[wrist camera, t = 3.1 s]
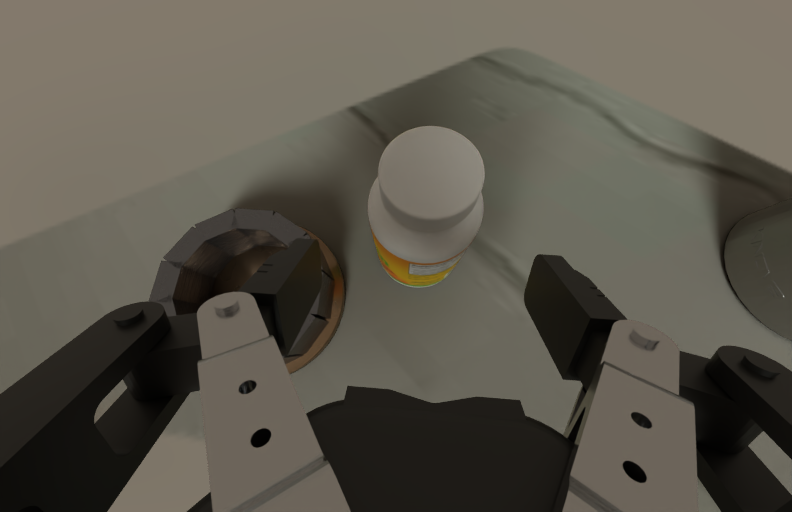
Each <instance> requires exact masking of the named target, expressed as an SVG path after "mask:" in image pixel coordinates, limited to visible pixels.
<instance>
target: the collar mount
mask: <svg viewBox="0 0 792 512" xmlns="http://www.w3.org/2000/svg"><path fill="white" fill-rule="evenodd" d="M195 226H196V228H194V227H191V228H190V229H189V231H188V232H187V233H186V234H185V235H184V236H183V237H182V238H181V239H180V240H179V241H178V242H177V243H176V244H175V246H174V247H173V248H172V249H171V250H170V251H169V252H168V253H167V254H166V255H165V256H164V257H163V258H164V259H165V260H167V261H161V263H160V267H159V270H158V273H157V276H156V279H155V283H154V286H153V289H152V292H151V295H150V298H149V301H150V302H157V303H160V304H161V305H163V307H164V309H165V312H166V314H167V316H168V317H169V316H176V315H184V314H192V313H197V311H198V309H199V308H200V306H201V305H202V304H204V303H205V302H206V301H208V300H209V299H211V298H213V297H215V296H218V295H221V294H224V293H229V292H237V291H238V290H239V289H240V288H241V287H242V286H243V285H244V284H245V283H246V281H247V280H248V279H249V278H250V277H251V276H252V275H253V274H254V273H255V272H257V270H258V268H259V267H260V266H263V263H264V262H265V261H266V260H267V259H268V258H269V257H270V256H271V255H273V254H275V253H277V252H279V251H281V250H286V249H287V248H288V247H289V246H290V245H291V244H292V242H293V241H294V240H295V239H296V238H302V239H317V240H318V242H319V247H320V258H321V269H322V285H321V289H320V292H319V294H318V296H317V298H316V300H315V302H314V304H313V306H312V308H311V310H310V312H309V314H308V316H307V318H306V320H305V322H304V324H303V326H302V328H301V330H300V332H299V334H298V336H297V338H296V340H295V342H294V344H293V346H292V348H291V350H290V352H289V354H288V356H282V358H283V360H284V362H285V365H286V367H287V370H288V372H289V374H291V373H294V372H296V371H298V370H299V369H301V368H303V367H305V366H306V365H307V364H309V363H310V362H311V361H313V360H314V359H315V358H316V357H317V356H318V355H319V354H320V353H321V352H322V351H323V350H324V349H325V348H326V346H327V345H328V344H329V343H330V341H331V339H332V338H333V336H334V335H335V333H336V331H337V328H338V326H339V324H340V321H341V318H342V315H343V311H344V305H345V283H344V278H343V274H342V271H341V268H340V266H339V264H338V262H337V260H336V258H335V256H334V255H333V254H332V252H331V251H330V250H329V248H328V247H327V246H326V245H325V244H324V243H323V241H322V240H321V239H319V238H318V237H317V236H316V235H314V234H313V233H311V232H310V231H308V230H306V229H304V228H302V227H300V226H297V225H295V224H294V223H292V222H291V221H290V220H288V219H287V218H285V217H284V216H282V215H281V214H279V213H278V212H276V213H275V212H274V211H271V210H255V209H239V208H236V209H235V210H233V209H231V210H229V211H226V212H224V213H222V214H219V215H217V216H214V217H212V218H210V219H207V220H205V221H202V222H200V223H198V224H195Z"/></svg>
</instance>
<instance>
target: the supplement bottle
mask: <svg viewBox="0 0 792 512" xmlns="http://www.w3.org/2000/svg"><path fill="white" fill-rule="evenodd" d="M484 179H485V170H484V164H483V160H482V157H481V155H480V153H479V151H478V150H477V148H476V147H475V146H474V145H473V144H472V142H471V141H469V140H468V139H467V138H466V137H464V136H463V135H461V134H460V133H458V132H456V131H454V130H451V129H448V128H444V127H439V126H422V127H417V128H413V129H410V130H407V131H405V132H403V133H402V134H400V135H399V136H397V137H396V138H395V139H393V140H392V141H391V142H390V143H389V145H388V146H387V147H386V149H385V150H384V152H383V154H382V156H381V159H380V162H379V167H378V177H377V178H376V180H375V181H374V183H373V185H372V188H371V190H370V194H369V198H368V217H369V223H370V226H371V230H372V234H373V238H374V242H375V245H376V249H377V252H378V256H379V259H380V262H381V264H382V266H383V268H384V270H385V271H386V272H387V274H388V275H389V276H390V277H391V278H393V279H394V280H395V281H397V282H399V283H401V284H403V285H406V286H410V287H428V286H432V285H434V284H437V283H439V282H440V281H442V280H443V279H444V278H446V277H447V276H448V275H449V274H450V273H451V271H452V270H453V269H454V267H455V266H456V264H457V263H458V261H459V260H460V259H461V257H462V256H463V254H464V253H465V251H466V250H467V248H468V247H469V245H470V244H471V242H472V241H473V239H474V238H475V236H476V234H477V232H478V230H479V228H480V225H481V222H482V218H483V210H484V206H483V197H482V193H481V190H482V188H483V184H484Z"/></svg>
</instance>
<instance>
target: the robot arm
mask: <svg viewBox="0 0 792 512" xmlns="http://www.w3.org/2000/svg"><path fill="white" fill-rule="evenodd" d="M724 259H725V266H726V271H727V274H728V277H729V279H730V282H731V285H732V287H733V288H734V290H735V292H736V293H737V295H738V297H739V299H740V300H741V301H742V302H743V304H744V305H745V306H746V307H747V308H748V310H749V311H750V312H751V313H752V314H753V315H754V316H755V317H756V318H757V319H759V320H760V321H761V322H762V323H763V324H764V325H765V326H767V327H768V328H770V329H771V330H773V331H774V332H776V333H777V334H779V335H781V336H782V337H784V338H787V339H789V340H791V341H792V198H791V199H789V200H786V201H783V202H781V203H778V204H775V205H773V206H770V207H768V208H765V209H762V210H760V211H757V212H754V213H752V214H749V215H747V216H746V217H744V218H743V219H741V220H740V221H738V222H737V223H736V225H735V226H734V227H733V228H732V230H731V231H730V233H729V235H728V238H727V240H726V243H725V252H724ZM321 285H322V269H321V258H320V247H319V242H318V240H317V239H302V238H296V239H295V240H294V241H293V242H292V244H291V245H290V246H289V247H288V248H287V249H286V250H281V251H279V252H277V253H275V254H273V255H271V256H270V257H269V258H268V259H267V260H266V261H265V262H264V263H263V266H260V267H259V268H258V270H257V272H255V273H254V274H253V275H252V276H251V277H250V278H249V279H248V280H247V281H246V283H245V284H244V285H243V286H242V287H241V288H240V289H239V290H238V291H237V292H229V293H224V294H221V295H218V296H215V297H213V298H211V299H209V300H208V301H206V302H205V303H204V304H202V305H201V306H200V308H199V309H198V311H197V313H192V314H184V315H176V316H169V317H168V316H167V314H166V312H165V309H164V307H163V305H161V304H160V303H157V302H139V303H134V304H130V305H127V306H124V307H121V308H118V309H116V310H114V311H112V312H110V313H108V314H107V315H105V316H104V317H102V318H101V319H100V320H98V321H97V322H96V323H94V324H93V325H92V326H90V327H89V328H88V329H86V330H85V331H84V332H82V333H81V334H80V335H78V336H77V337H76V338H74V339H73V340H72V341H70V342H69V343H68V344H66V345H65V346H64V347H62V348H61V349H60V350H58V351H57V352H56V353H54V354H53V355H52V356H50V357H49V358H48V359H46V360H45V361H44V362H43V363H41V364H40V365H39V366H37V367H36V368H35V369H33V370H32V371H31V372H29V373H28V374H27V375H25V376H24V377H23V378H21V379H20V380H19V381H17V382H16V383H15V384H13V385H12V386H11V387H9V388H8V389H7V390H5V391H4V392H3V393H1V394H0V512H107V511H108V510H109V508H110V507H111V505H112V504H113V503H114V501H115V500H116V498H117V497H118V495H119V494H120V492H121V491H122V489H123V488H124V487H125V485H126V484H127V482H128V481H129V480H130V478H131V477H132V475H133V474H134V472H135V471H136V469H137V468H138V466H139V465H140V464H141V462H142V461H143V459H144V458H145V457H146V455H147V454H148V452H149V451H150V449H151V448H152V446H153V445H154V444H155V442H156V441H157V439H158V438H159V436H160V435H161V434H162V432H163V431H164V429H165V428H166V426H167V425H168V424H169V422H170V421H171V419H172V418H173V416H174V415H175V413H176V412H177V411H178V409H179V408H180V406H181V405H182V403H183V402H184V401H185V399H186V398H187V396H188V395H189V393H190V392H194V391H199V390H200V393H201V403H202V413H203V422H204V432H205V442H206V451H207V460H208V470H209V480H210V489H211V492H210V493H209V494H207V495H206V496H205V497H204V498H202V499H201V500H200V501H199V502H198V503H196V504H195V505H194V506H193V507H192V508H191V509H189V510H188V511H187V512H699V511H698V485H697V477H698V478H699V479H700V481H701V482H702V484H703V485H704V487H705V488H706V490H707V491H708V493H709V494H710V496H711V497H712V499H713V500H714V501H715V503H716V504H717V506H718V507H719V509H720V510H721V512H792V495H791V494H790V493H789V492H788V491H787V489H786V488H785V487H784V486H783V485H782V484H781V483H780V481H779V480H778V479H777V478H776V477H775V476H774V475H773V474H772V472H771V471H770V470H769V469H768V468H767V467H766V466H765V465H764V463H763V462H762V461H761V460H760V459H759V458H758V457H757V456H756V454H755V453H754V452H753V451H752V450H751V449H750V448H749V447H748V445H749V444H750V443H751V442H752V441H753V440H754V439H755V438H756V437H757V436H758V435H759V434H761V433H762V432H763V431H764V432H765V433H766V434H767V435H768V436H769V437H770V438H771V439H772V440H773V441H774V442H775V443H776V444H777V445H778V446H779V447H780V448H781V449H782V450H783V451H784V452H785V453H786V454H787V455H788V456H789V457H790V458H791V459H792V372H791V371H790V370H789V369H787V368H786V367H784V366H783V365H781V364H780V363H778V362H776V361H774V360H772V359H770V358H768V357H766V356H764V355H762V354H759V353H757V352H754V351H751V350H748V349H745V348H741V347H736V346H722V347H720V348H719V349H718V350H717V351H716V353H715V354H714V355H713V356H712V358H711V359H708V358H704V357H701V356H697V355H693V354H689V353H686V352H682V351H679V348H678V346H677V344H676V343H675V342H674V341H673V340H672V339H671V338H670V337H669V336H667V335H666V334H664V333H663V332H661V331H659V330H658V329H656V328H654V327H652V326H649V325H647V324H644V323H641V322H637V321H632V320H627V318H626V317H625V316H624V315H623V314H622V313H621V312H620V311H619V310H618V309H617V308H616V307H615V306H614V305H613V304H612V303H611V301H610V300H609V299H608V298H607V297H605V295H604V294H603V293H602V292H601V291H600V290H599V289H597V287H596V286H595V284H594V283H593V282H592V281H591V280H590V279H589V278H587V277H586V276H584V275H583V274H581V273H579V272H578V271H576V270H574V269H573V268H572V267H571V266H570V265H569V264H568V263H567V262H566V260H565V259H564V258H563V257H562V256H556V255H541V254H539V255H537V256H536V257H535V259H534V262H533V265H532V268H531V272H530V275H529V278H528V282H527V285H526V288H525V293H524V302H525V306H526V308H527V310H528V312H529V314H530V316H531V318H532V320H533V322H534V324H535V326H536V328H537V330H538V332H539V334H540V336H541V337H542V339H543V341H544V343H545V345H546V347H547V349H548V351H549V353H550V355H551V357H552V359H553V361H554V363H555V365H556V367H557V369H558V371H559V373H560V374H561V376H562V378H563V379H565V380H577V381H581V383H582V384H583V385H582V387H581V389H580V391H579V393H578V396H577V399H576V402H575V404H574V407H573V410H572V413H571V415H570V418H569V421H568V423H567V426H566V429H565V432H564V434H563V435H562V434H560V433H559V432H557V431H556V430H554V429H553V428H551V427H549V426H547V425H545V424H543V423H542V422H539V421H537V420H535V419H532V418H530V417H527V416H525V414H524V411H523V408H522V405H521V402H520V400H510V399H498V398H486V397H472V398H466V399H460V400H454V401H447V402H441V403H430V402H427V401H423V400H420V399H417V398H414V397H411V396H408V395H405V394H402V393H399V392H396V391H393V390H389V389H378V388H366V387H354V386H348V387H347V391H346V395H345V399H344V400H340V401H336V402H332V403H329V404H326V405H323V406H321V407H318V408H316V409H314V410H312V411H310V412H308V413H307V414H306V413H305V410H304V408H303V405H302V403H301V401H300V398H299V396H298V394H297V391H296V389H295V386H294V384H293V382H292V379H291V377H290V374H289V372H288V370H287V367H286V365H285V362H284V360H283V358H282V356H288V354H289V352H290V350H291V348H292V346H293V344H294V342H295V340H296V338H297V336H298V334H299V332H300V330H301V328H302V326H303V324H304V322H305V320H306V318H307V316H308V314H309V312H310V310H311V308H312V306H313V304H314V302H315V300H316V298H317V296H318V294H319V292H320V289H321ZM122 379H123V381H124V383H125V384H126V386H127V389H126V390H125V391H124V392H123V394H122V395H121V396H120V397H119V398H118V399H117V400H116V401H115V402H114V403H113V404H112V406H111V407H110V408H109V409H108V410H107V411H106V412H105V413H104V414H103V415H102V416H101V417H100V419H99V420H98V421H97V422H96V423H95V424H94V415H95V412H96V409H97V407H98V405H99V404H100V402H101V401H102V400H103V399H104V398H105V397H106V396H107V395H108V394H109V392H110V391H111V390H112V389H113V388H114V387H115V386H116V385H117V384H118V383H119V382H120V381H121V380H122Z"/></svg>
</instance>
